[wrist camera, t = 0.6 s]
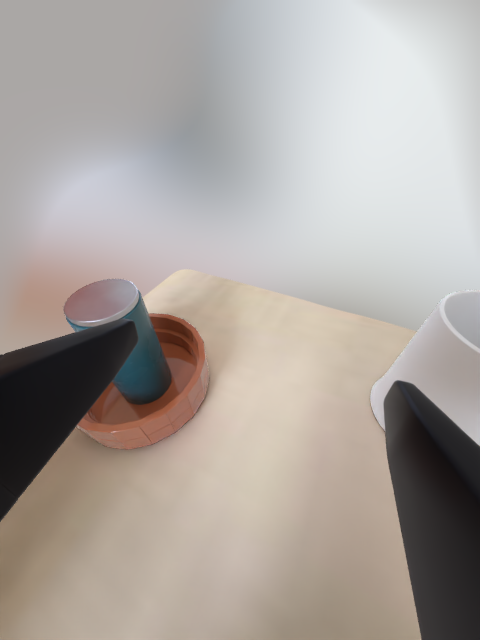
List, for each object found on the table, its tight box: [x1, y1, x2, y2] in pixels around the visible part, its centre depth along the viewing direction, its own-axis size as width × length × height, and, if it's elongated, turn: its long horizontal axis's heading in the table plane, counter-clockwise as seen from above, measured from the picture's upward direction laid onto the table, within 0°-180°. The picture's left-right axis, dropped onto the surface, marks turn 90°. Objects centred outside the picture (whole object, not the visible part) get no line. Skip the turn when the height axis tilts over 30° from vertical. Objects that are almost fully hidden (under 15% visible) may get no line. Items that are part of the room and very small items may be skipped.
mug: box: [370, 290, 480, 445], centre depth 20 cm, size 12×8×12 cm
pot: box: [77, 313, 209, 450], centre depth 24 cm, size 13×13×4 cm
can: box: [64, 279, 172, 405], centre depth 21 cm, size 5×5×12 cm
